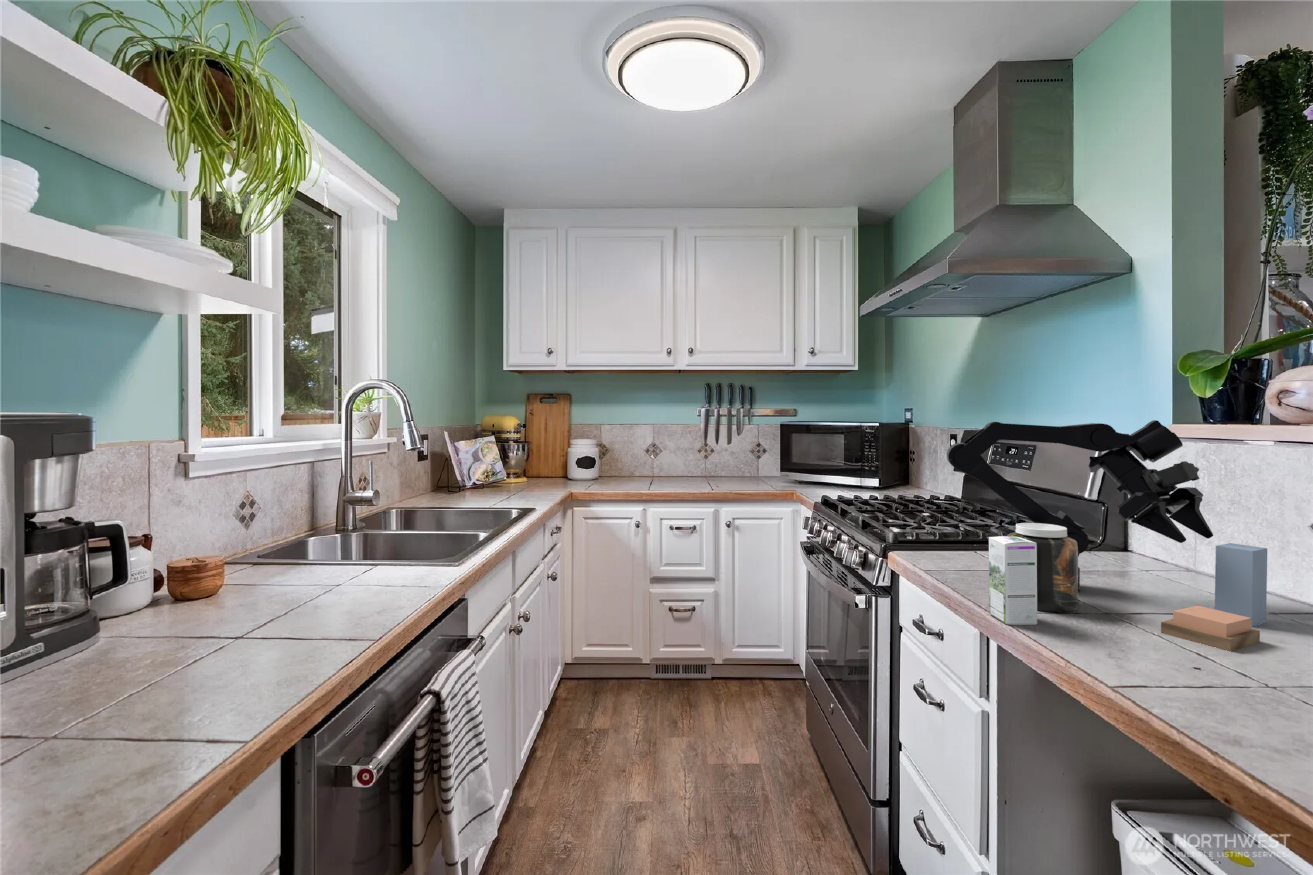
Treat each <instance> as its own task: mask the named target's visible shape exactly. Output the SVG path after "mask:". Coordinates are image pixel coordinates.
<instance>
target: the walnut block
mask: <svg viewBox="0 0 1313 875" xmlns="http://www.w3.org/2000/svg"><path fill="white" fill-rule="evenodd" d="M1160 634H1162V635H1166V636H1171V637H1174V638H1179V639H1182V640H1185V641H1188V642H1193V643H1196V644H1200V643H1201V644H1200V645H1203V644H1204V646H1207V645H1208V646H1207V647H1211V648H1214V647H1216V648H1215V649H1218V650H1222V651H1226V650H1227V651H1226V652H1230V651H1231V652H1233V650H1234V651H1237V650H1239V649H1243V648H1246V647H1249V646H1253V645H1255V643H1256V644H1259V643H1260V642H1261V638H1260V636H1261V630H1258V629H1254V628H1251V630H1250V631H1246V632H1242V633H1239V634H1235V635H1231V636H1227V637H1225V636H1221V635H1217V634H1213V633H1210V632H1206V631H1202V630H1198V629H1194V628H1191V627H1187V626H1183V625H1179V624H1175V623H1173V618H1171V619H1167V620H1164V621H1161V622H1160ZM1242 647H1243V648H1242ZM1231 652H1230V653H1231Z"/></svg>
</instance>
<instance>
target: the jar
mask: <svg viewBox="0 0 1313 875" xmlns="http://www.w3.org/2000/svg"><path fill="white" fill-rule="evenodd" d="M1006 536H1015V537H1020V538H1023V539H1026V540H1029V541H1032V542H1035V543H1037V611H1040V612H1046V613H1048V612H1049V613H1070V612H1071V613H1072V612H1075V611H1078V607H1079V592H1078V588H1079V587H1078V567H1079V556H1078V546H1077V542H1076V540H1074V539H1072V538H1070V537H1067V536H1068V535H1067V528H1066V527H1063V526H1058V525H1052V524H1043V523H1034V522H1020V523H1016V524H1015V531H1014V532H1011V533H1008V534H1007V535H1006Z"/></svg>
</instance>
